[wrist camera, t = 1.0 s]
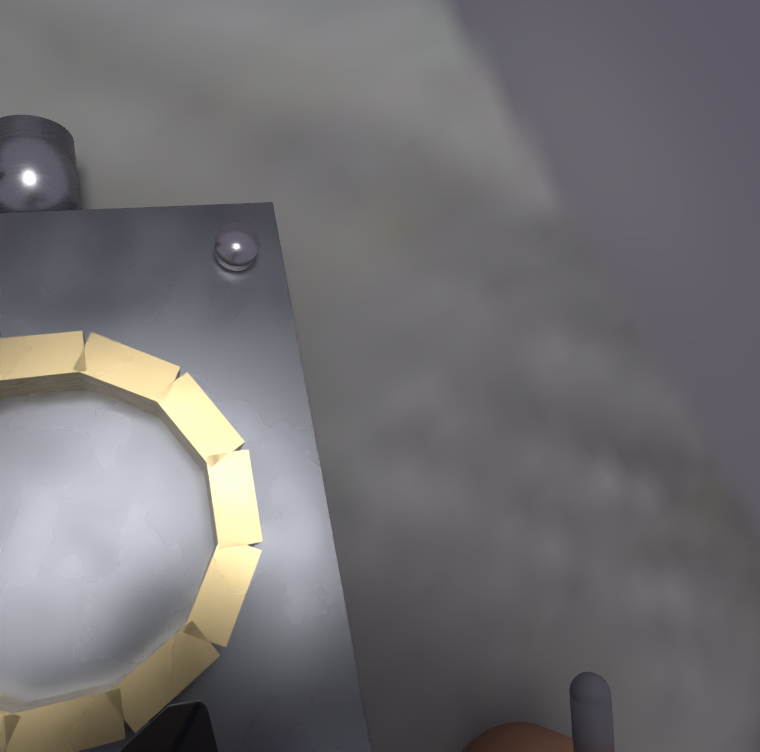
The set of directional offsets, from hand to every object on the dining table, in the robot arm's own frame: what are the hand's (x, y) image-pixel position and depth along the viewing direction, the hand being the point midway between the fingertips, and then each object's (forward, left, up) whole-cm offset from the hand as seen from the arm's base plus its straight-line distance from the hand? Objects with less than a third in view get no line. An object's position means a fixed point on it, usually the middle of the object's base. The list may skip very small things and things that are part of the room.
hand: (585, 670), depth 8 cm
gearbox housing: (+5, +7, -13) cm, 15 cm away
